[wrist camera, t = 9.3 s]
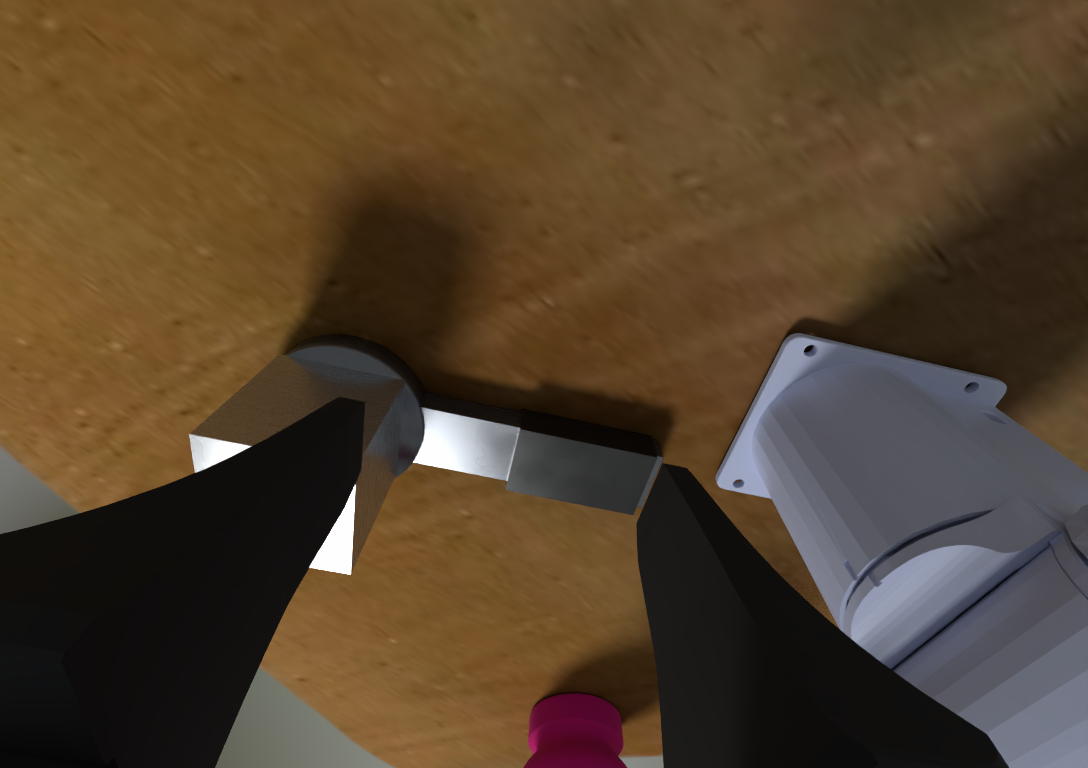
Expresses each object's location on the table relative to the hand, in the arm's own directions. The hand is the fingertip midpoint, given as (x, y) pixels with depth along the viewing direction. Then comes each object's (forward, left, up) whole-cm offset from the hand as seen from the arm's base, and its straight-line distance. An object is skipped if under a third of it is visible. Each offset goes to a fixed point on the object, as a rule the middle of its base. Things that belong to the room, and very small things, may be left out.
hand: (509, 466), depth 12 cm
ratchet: (+2, +6, -9) cm, 11 cm away
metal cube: (+7, +6, -8) cm, 12 cm away
